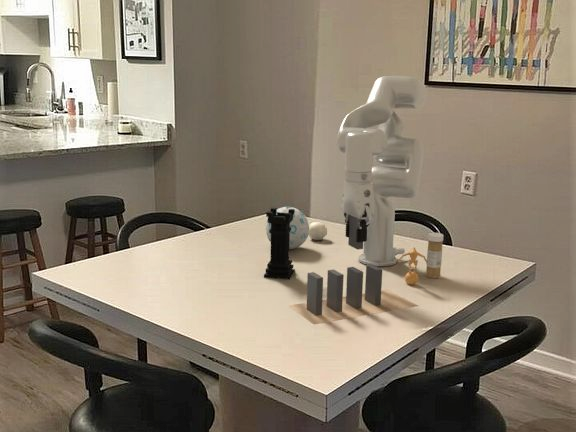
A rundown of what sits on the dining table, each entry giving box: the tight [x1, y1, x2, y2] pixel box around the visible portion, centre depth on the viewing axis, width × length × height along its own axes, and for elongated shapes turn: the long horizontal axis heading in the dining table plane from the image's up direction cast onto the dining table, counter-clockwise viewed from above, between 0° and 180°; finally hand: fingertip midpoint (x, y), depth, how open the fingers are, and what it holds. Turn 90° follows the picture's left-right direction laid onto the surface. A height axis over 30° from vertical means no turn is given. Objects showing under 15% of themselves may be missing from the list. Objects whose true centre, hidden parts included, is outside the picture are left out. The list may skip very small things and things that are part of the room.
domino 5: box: [364, 264, 383, 306], centre depth 175 cm, size 2×5×10 cm, turn 26°
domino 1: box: [306, 271, 324, 316], centre depth 167 cm, size 2×5×10 cm, turn 27°
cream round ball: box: [308, 221, 328, 241], centre depth 240 cm, size 7×7×7 cm
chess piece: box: [263, 207, 296, 281], centre depth 197 cm, size 8×8×20 cm
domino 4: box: [345, 266, 364, 309], centre depth 172 cm, size 2×5×10 cm, turn 26°
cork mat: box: [288, 289, 419, 325], centre depth 173 cm, size 32×14×1 cm, turn 116°
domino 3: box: [348, 215, 364, 250], centre depth 185 cm, size 2×5×10 cm, turn 26°
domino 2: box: [326, 269, 345, 312], centre depth 170 cm, size 2×5×10 cm, turn 26°
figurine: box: [398, 246, 427, 286], centre depth 190 cm, size 8×6×12 cm
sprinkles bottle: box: [425, 232, 444, 279], centre depth 199 cm, size 5×5×14 cm
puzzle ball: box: [265, 206, 310, 251], centre depth 226 cm, size 15×15×15 cm
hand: (356, 238), depth 186 cm, fingers closed on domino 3, 4 cm apart
